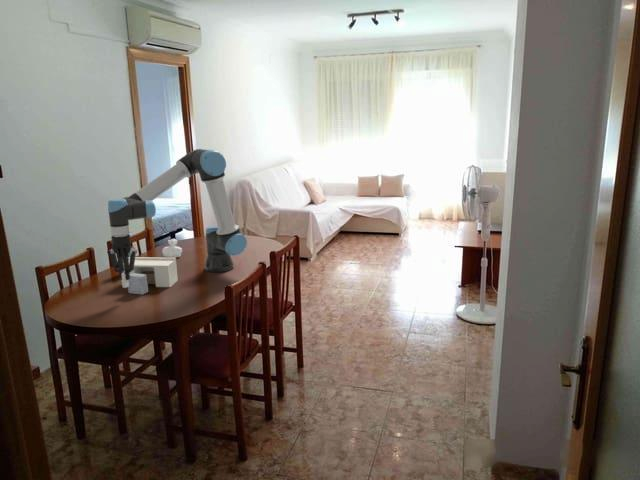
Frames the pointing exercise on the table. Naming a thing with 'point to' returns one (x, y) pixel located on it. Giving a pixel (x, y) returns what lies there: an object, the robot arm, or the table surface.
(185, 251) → the table surface
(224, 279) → the table surface
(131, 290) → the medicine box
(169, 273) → the console
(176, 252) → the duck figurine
